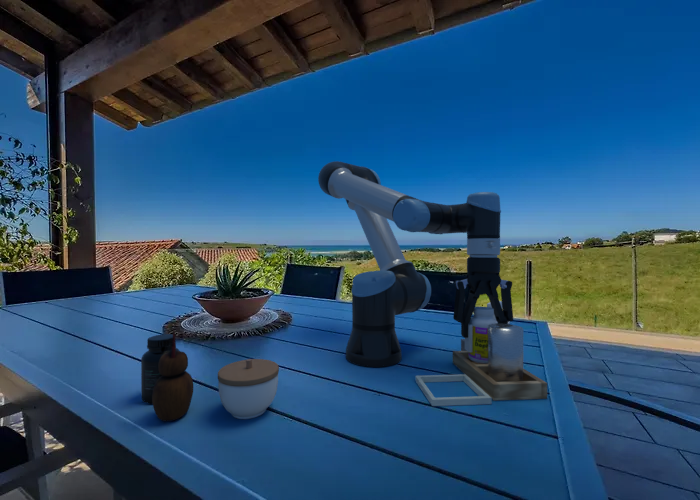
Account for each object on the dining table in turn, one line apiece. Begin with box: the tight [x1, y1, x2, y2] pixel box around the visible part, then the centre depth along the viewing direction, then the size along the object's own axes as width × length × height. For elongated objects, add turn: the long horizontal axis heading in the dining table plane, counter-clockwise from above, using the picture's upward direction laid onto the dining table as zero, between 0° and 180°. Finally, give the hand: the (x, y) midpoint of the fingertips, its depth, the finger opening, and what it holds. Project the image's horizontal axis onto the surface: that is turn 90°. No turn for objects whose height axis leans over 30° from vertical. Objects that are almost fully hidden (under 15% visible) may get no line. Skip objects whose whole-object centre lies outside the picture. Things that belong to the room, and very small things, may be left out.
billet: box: [488, 323, 524, 382], centre depth 69 cm, size 7×7×12 cm
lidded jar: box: [217, 358, 280, 420], centre depth 59 cm, size 11×11×9 cm
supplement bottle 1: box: [140, 333, 180, 405], centre depth 65 cm, size 7×7×12 cm
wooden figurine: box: [152, 329, 194, 422], centre depth 57 cm, size 7×6×15 cm
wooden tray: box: [452, 350, 548, 401], centre depth 74 cm, size 11×21×3 cm, turn 4°
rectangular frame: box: [415, 373, 493, 407], centre depth 67 cm, size 12×12×1 cm
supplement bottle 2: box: [469, 306, 498, 364], centre depth 79 cm, size 7×7×13 cm
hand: (482, 350), depth 79 cm, fingers closed on supplement bottle 2, 7 cm apart
